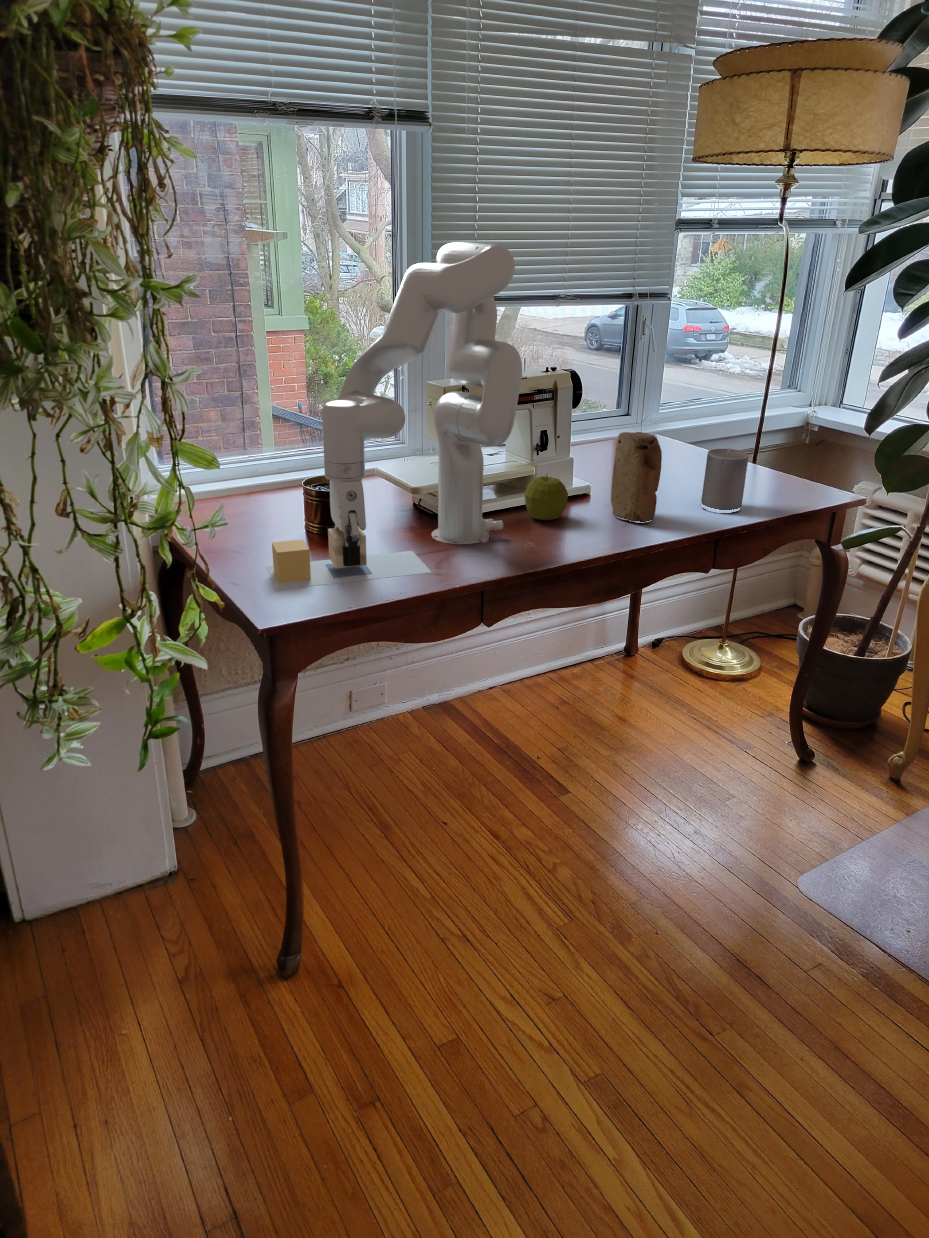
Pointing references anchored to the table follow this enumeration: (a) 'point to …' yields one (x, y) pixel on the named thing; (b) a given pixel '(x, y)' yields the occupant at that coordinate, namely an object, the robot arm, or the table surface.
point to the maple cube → (337, 547)
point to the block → (636, 476)
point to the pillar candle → (724, 479)
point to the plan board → (357, 570)
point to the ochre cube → (291, 560)
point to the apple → (545, 498)
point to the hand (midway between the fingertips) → (347, 558)
